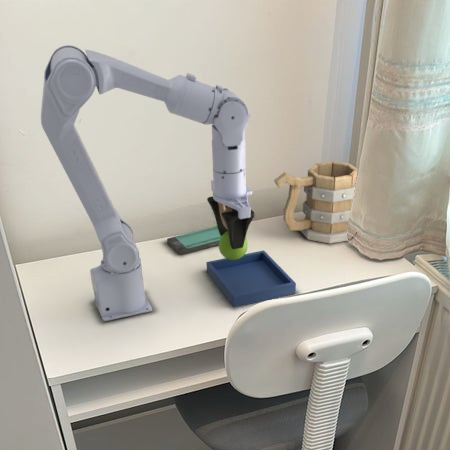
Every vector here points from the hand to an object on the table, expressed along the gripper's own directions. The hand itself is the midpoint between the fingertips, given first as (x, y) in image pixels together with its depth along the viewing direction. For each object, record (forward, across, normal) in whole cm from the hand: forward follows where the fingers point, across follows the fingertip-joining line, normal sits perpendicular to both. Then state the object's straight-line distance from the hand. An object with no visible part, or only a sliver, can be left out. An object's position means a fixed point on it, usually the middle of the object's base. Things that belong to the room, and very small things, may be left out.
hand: (231, 241), depth 119 cm
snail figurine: (+4, 0, 0) cm, 4 cm away
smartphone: (+11, +23, -2) cm, 25 cm away
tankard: (+11, +17, -26) cm, 33 cm away
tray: (+10, +2, -4) cm, 11 cm away
